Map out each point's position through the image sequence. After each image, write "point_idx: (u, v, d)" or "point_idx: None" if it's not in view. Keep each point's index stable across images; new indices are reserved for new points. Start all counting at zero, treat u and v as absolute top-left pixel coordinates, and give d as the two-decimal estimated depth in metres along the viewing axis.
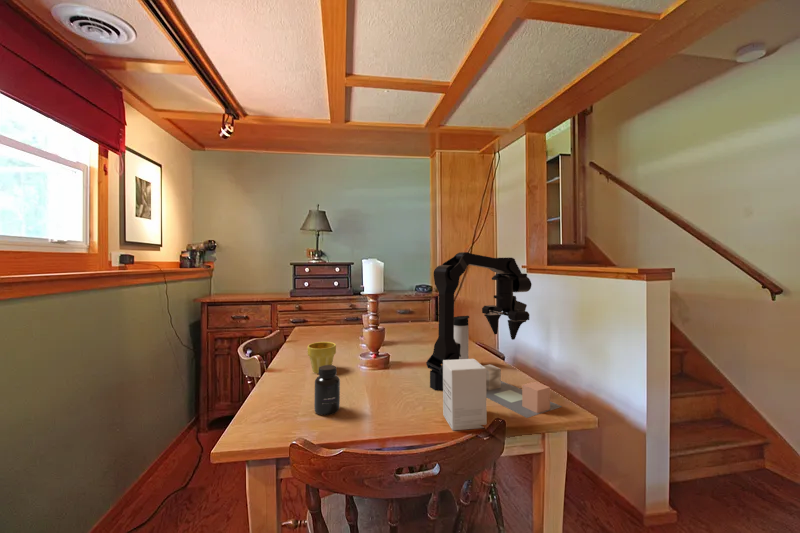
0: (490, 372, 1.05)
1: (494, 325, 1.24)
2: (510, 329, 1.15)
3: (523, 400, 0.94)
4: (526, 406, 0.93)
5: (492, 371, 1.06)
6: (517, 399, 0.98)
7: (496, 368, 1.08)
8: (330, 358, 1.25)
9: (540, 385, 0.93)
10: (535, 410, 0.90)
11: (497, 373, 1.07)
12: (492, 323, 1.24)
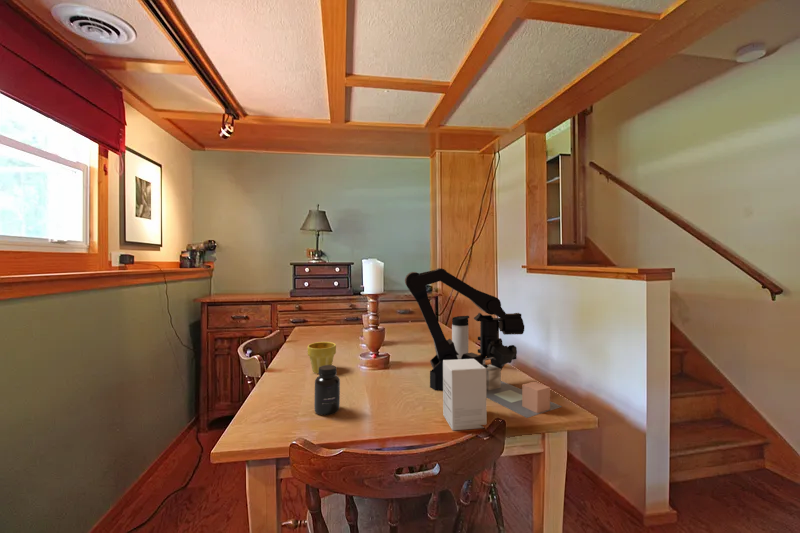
0: (490, 372, 1.05)
1: None
2: None
3: (523, 400, 0.94)
4: (526, 406, 0.93)
5: (492, 371, 1.06)
6: (517, 399, 0.98)
7: (496, 368, 1.08)
8: (330, 358, 1.25)
9: (540, 385, 0.93)
10: (535, 410, 0.90)
11: (497, 373, 1.07)
12: None
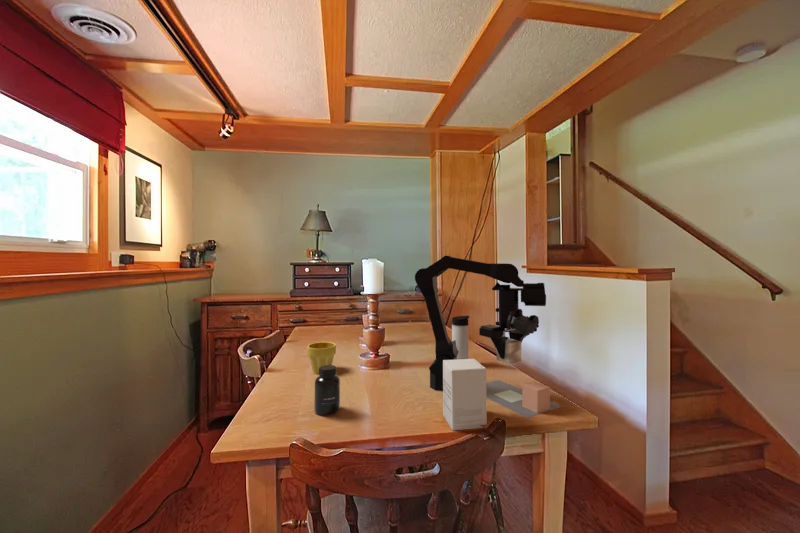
0: (510, 344, 0.99)
1: None
2: None
3: (523, 400, 0.94)
4: (526, 406, 0.93)
5: (512, 343, 0.99)
6: (517, 399, 0.98)
7: (516, 341, 1.01)
8: (330, 358, 1.25)
9: (540, 385, 0.93)
10: (535, 410, 0.90)
11: (517, 346, 1.00)
12: None
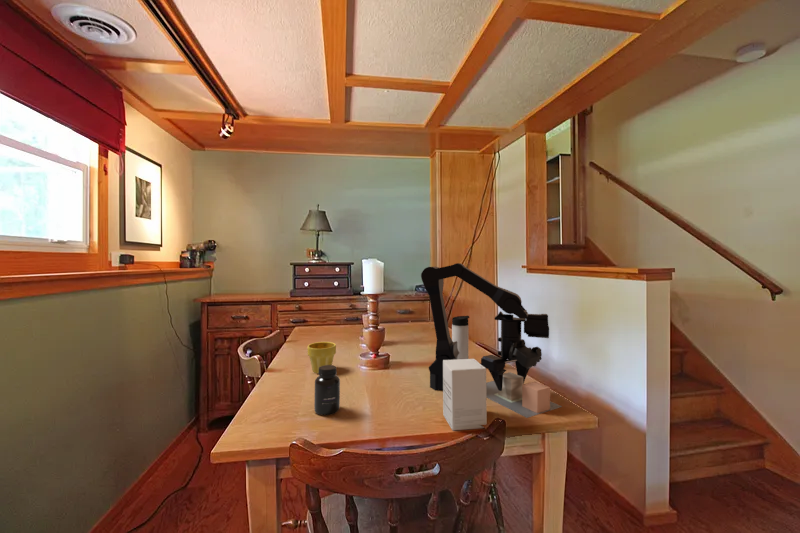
0: (512, 381, 0.98)
1: (519, 374, 1.03)
2: None
3: (523, 400, 0.94)
4: (526, 406, 0.93)
5: (514, 380, 0.98)
6: (517, 399, 0.98)
7: (518, 376, 1.00)
8: (330, 358, 1.25)
9: (540, 385, 0.93)
10: (535, 410, 0.90)
11: (519, 382, 0.99)
12: (518, 370, 1.04)
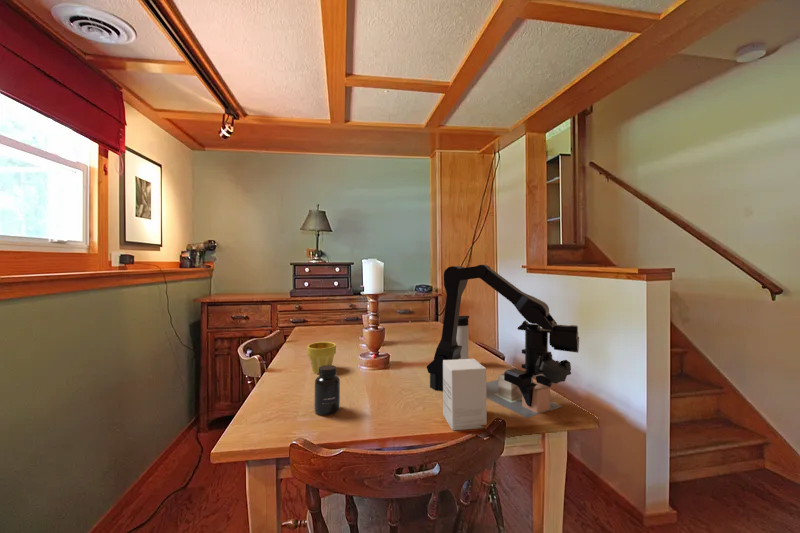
0: None
1: None
2: None
3: (523, 400, 0.94)
4: (526, 406, 0.93)
5: None
6: (517, 399, 0.98)
7: None
8: (330, 358, 1.25)
9: (540, 385, 0.93)
10: (535, 410, 0.90)
11: None
12: None
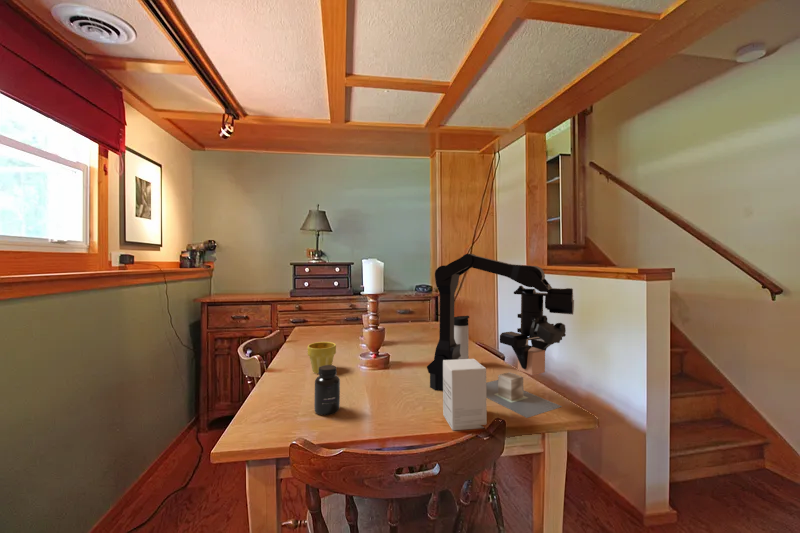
0: (512, 381, 0.98)
1: None
2: None
3: (518, 364, 0.95)
4: (521, 369, 0.94)
5: (514, 380, 0.98)
6: (517, 399, 0.98)
7: (518, 376, 1.00)
8: (330, 358, 1.25)
9: (535, 349, 0.94)
10: (530, 372, 0.91)
11: (519, 382, 0.99)
12: None
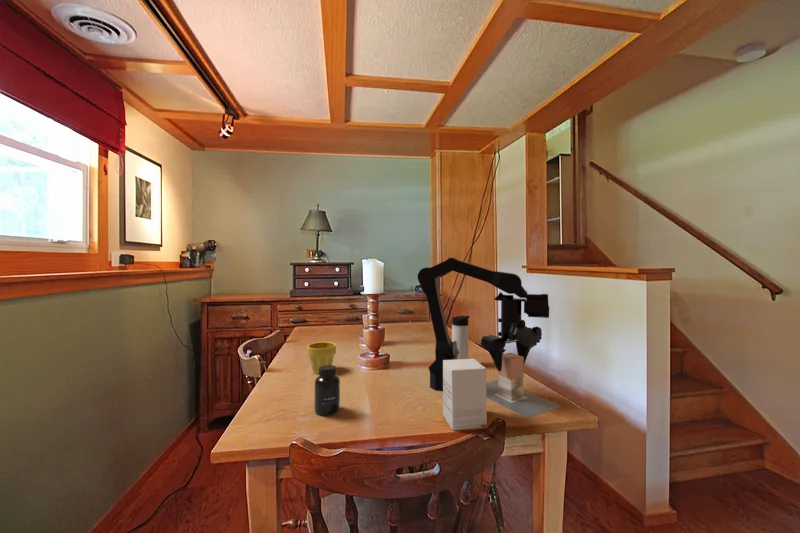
0: (512, 381, 0.98)
1: (520, 354, 1.03)
2: None
3: None
4: (502, 374, 1.00)
5: (514, 380, 0.98)
6: (517, 399, 0.98)
7: None
8: (330, 358, 1.25)
9: (515, 355, 1.01)
10: (509, 377, 0.98)
11: (519, 382, 0.99)
12: (518, 351, 1.04)
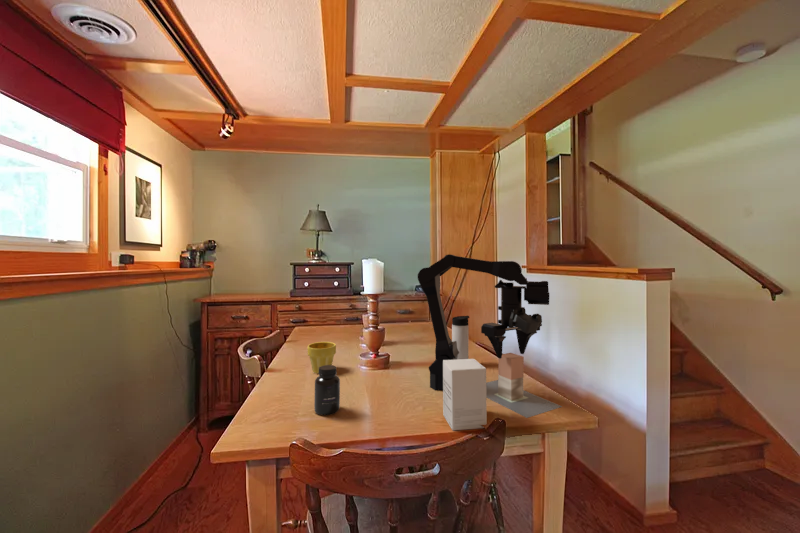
0: (512, 381, 0.98)
1: (520, 342, 1.03)
2: None
3: (499, 369, 1.01)
4: (502, 374, 1.00)
5: (514, 380, 0.98)
6: (517, 399, 0.98)
7: None
8: (330, 358, 1.25)
9: (515, 355, 1.01)
10: (509, 377, 0.98)
11: (519, 382, 0.99)
12: (518, 339, 1.04)
